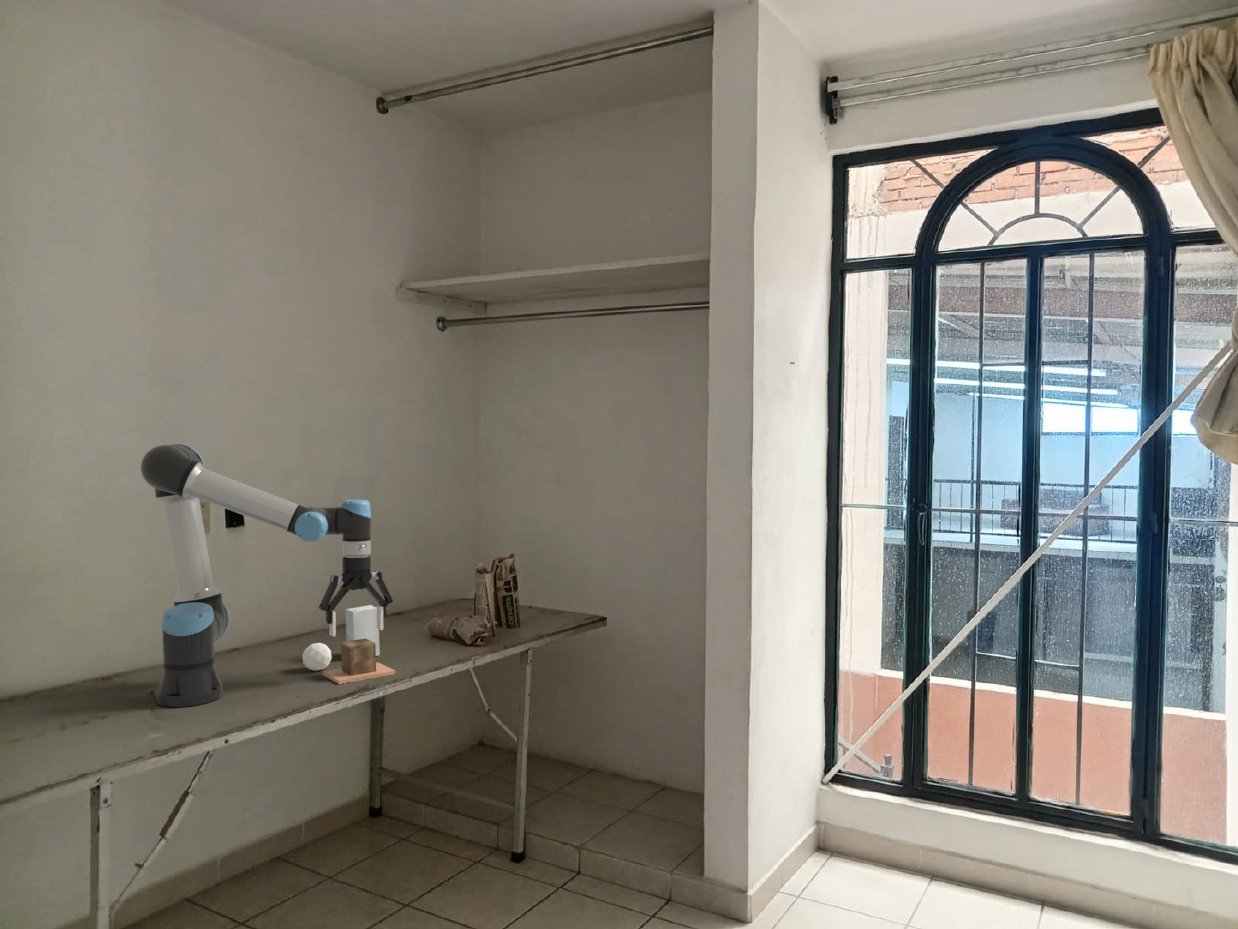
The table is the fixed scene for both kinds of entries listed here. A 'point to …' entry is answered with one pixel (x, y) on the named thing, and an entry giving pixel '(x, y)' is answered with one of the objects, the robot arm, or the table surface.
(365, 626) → the skincare box
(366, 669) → the cardboard carton
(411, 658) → the table surface
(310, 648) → the ball
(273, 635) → the table surface
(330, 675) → the base plate
